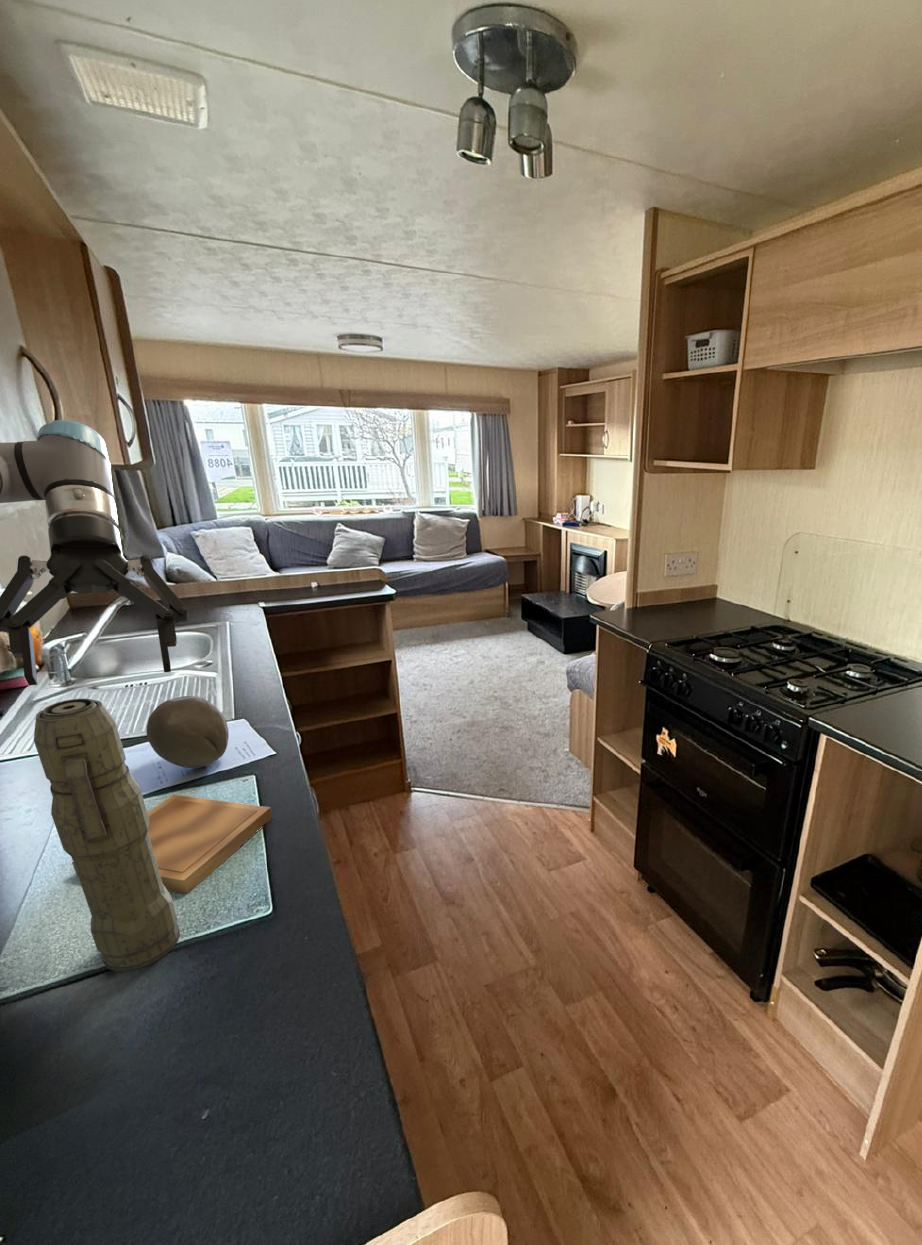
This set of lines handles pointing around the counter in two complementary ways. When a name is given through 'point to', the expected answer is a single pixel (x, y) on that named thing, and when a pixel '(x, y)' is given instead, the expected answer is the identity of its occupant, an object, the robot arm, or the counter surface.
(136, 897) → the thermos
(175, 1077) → the counter surface
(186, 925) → the counter surface
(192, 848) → the oak board
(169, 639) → the robot arm
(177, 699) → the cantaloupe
